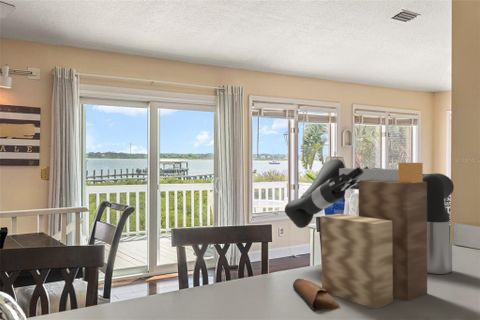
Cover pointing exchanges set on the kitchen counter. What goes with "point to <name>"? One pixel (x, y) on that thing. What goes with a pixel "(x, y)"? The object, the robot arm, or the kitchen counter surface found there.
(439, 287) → the kitchen counter surface
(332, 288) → the beige slab
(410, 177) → the steel pin
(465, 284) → the kitchen counter surface
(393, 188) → the walnut stand
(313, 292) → the sunglasses case
